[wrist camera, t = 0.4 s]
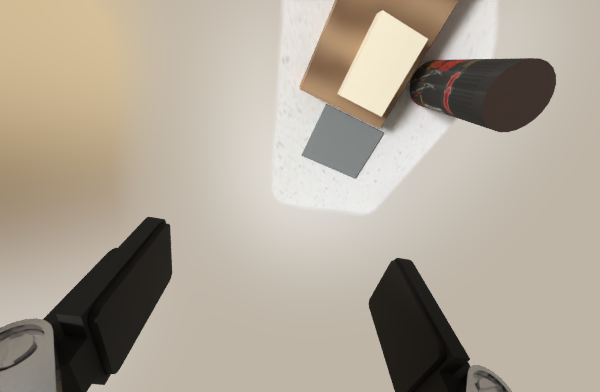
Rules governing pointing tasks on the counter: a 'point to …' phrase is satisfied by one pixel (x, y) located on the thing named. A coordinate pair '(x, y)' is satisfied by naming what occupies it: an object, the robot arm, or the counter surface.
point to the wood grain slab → (349, 36)
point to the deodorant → (486, 90)
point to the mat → (341, 142)
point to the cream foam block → (381, 63)
